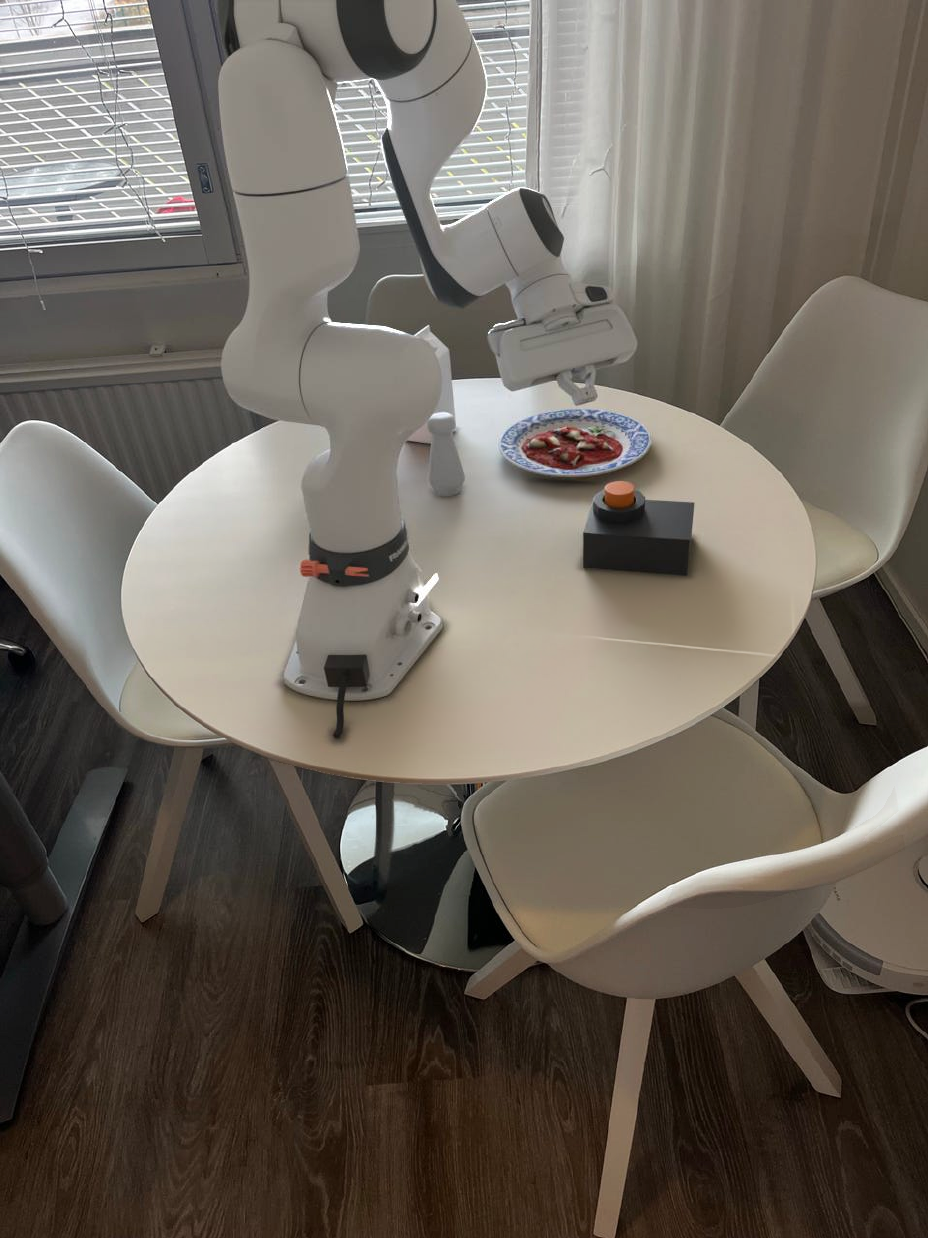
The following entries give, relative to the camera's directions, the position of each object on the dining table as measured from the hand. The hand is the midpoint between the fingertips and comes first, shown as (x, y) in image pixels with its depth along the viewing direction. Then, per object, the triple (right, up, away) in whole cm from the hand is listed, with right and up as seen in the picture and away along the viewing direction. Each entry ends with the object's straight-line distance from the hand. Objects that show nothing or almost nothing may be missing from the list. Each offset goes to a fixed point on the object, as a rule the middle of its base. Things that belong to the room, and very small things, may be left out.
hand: (586, 401), depth 120 cm
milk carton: (-23, +4, +40) cm, 46 cm away
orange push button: (+5, -14, +1) cm, 14 cm away
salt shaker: (-19, -9, +22) cm, 31 cm away
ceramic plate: (+2, -1, +30) cm, 30 cm away
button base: (+8, -20, +3) cm, 22 cm away
